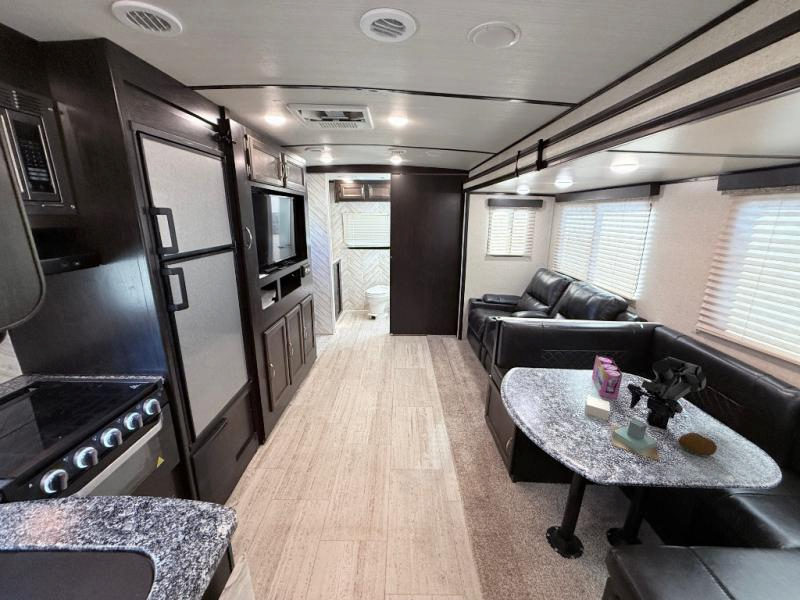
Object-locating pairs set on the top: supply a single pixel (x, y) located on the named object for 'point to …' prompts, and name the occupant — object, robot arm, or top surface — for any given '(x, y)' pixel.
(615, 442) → the cork mat
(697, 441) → the potato
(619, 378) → the gum box
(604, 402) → the box
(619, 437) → the lid
